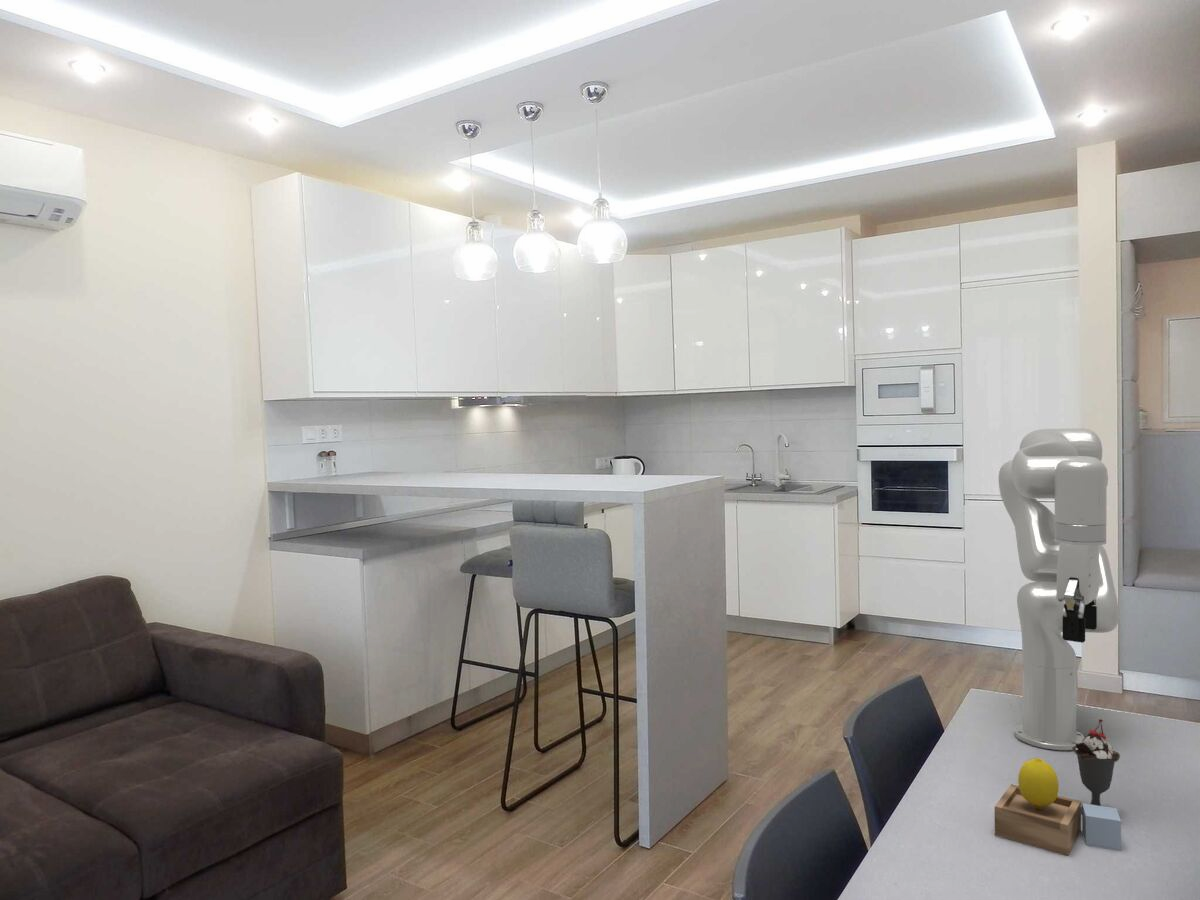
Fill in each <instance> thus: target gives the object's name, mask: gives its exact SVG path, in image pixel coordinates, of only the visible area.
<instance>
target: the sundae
mask: <svg viewBox="0 0 1200 900" xmlns="http://www.w3.org/2000/svg"><path fill="white" fill-rule="evenodd" d="M1099 727H1100V729H1101V730H1100V731H1101V732H1099V733H1098V731H1097V730H1098V729H1099ZM1103 731H1104V729H1103V719H1098V726H1096V728H1095V729H1091V730H1089V733H1088V734H1085V735H1084V737H1083V739H1082V741H1081V743H1076V744H1075V745H1076V746H1074V747H1073V748H1072V749H1073V750H1072V751H1073V752H1074V753H1075V754H1076V756H1077V762H1078V768H1079V775H1080V779H1081V783H1082V785H1083V786H1084V787H1085V788H1086V789H1087V790H1088V791H1090V793H1091V802H1090V804H1091V805H1097V806H1102V805H1101V794H1103V793H1105V792H1107V791H1108V790H1109V789H1111V785H1112V779H1113V773H1114V767H1115V763H1116V762H1118V761H1119V760H1120V757H1121V755H1120V753H1119V752H1117V751H1115V750H1114V749H1113V747H1112V745H1111V744H1110V743H1109V742H1108V741H1107V740H1106V739H1107V736H1106V734H1105V733H1104V732H1103ZM1081 815H1082V805H1081Z"/></svg>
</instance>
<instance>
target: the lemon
mask: <svg viewBox="0 0 1200 900" xmlns="http://www.w3.org/2000/svg"><path fill="white" fill-rule="evenodd" d="M1017 780H1018V781H1017V782H1018V783H1017V784H1018V786H1019V789H1020V792H1021V794H1022V796H1023V797H1024V798H1025V800H1026V801H1028V802H1029V803H1030V804H1032V805H1034V806H1035V807H1036V808H1037V809H1041V808H1042V807H1045V806H1049V805H1051V804H1052V803H1053V802H1054V801H1055V800H1056V798H1057V795H1058V794H1059V788H1060V787H1059V786H1060V785H1059V778H1058V775H1057V773H1056V771H1055V769H1054V768H1053V767H1052V766H1051V765H1050V764H1049V763H1048V762H1047V761H1046V760H1045V761H1044V760H1042V758H1040V757H1035V758H1032V759H1029V760H1027V761H1025V762H1024V763H1023V764H1022V765H1021V768H1020V770H1019V772H1018V778H1017ZM1058 796H1059V795H1058Z"/></svg>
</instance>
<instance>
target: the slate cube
mask: <svg viewBox="0 0 1200 900" xmlns="http://www.w3.org/2000/svg"><path fill="white" fill-rule="evenodd" d="M1081 806H1082V814H1081V830H1082V831H1081V832H1082V835H1083V839H1084V843H1085V845H1086V846H1090V847H1098V848H1103V849H1108V850H1115V851H1120V852H1121V851H1122V820H1121V817H1120V815H1119V812H1118V809H1117V808H1116V807H1111V806H1110V807H1109V806H1103V805H1101V806H1097V805H1091V803H1085V802H1084V803H1083V802H1081Z"/></svg>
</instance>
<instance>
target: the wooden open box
mask: <svg viewBox="0 0 1200 900" xmlns="http://www.w3.org/2000/svg"><path fill="white" fill-rule="evenodd" d="M1081 806H1082V801H1081V800H1078V799H1075V798H1070V797H1066V796H1063V795H1057V798H1056V800H1055V801H1054V802H1053V803H1052V804H1051V805H1049V806H1045V807H1042V808H1041V809H1037V808H1036V807H1035V806H1034V805H1032V804H1030V803H1029V802H1028V801H1026V800H1025V798H1024V797H1023V796H1022V794H1021V792H1020V789H1019V785H1017V784H1016V785H1015V784H1010V785H1009V787H1008V788H1007V789H1006V790H1005V791H1004V793H1003V794H1002V796H1001V797H1000V798H999V800H998V801H997V802H996V804H995V805H994V836H997V837H1001V838H1003V839H1008V840H1011V841H1014V842H1018V843H1022V844H1025V845H1028V846H1032V847H1036V848H1039V849H1042V850H1046V851H1051V852H1053V853H1054V852H1055V853H1057V854H1061V855H1064V856H1067V857H1068V856H1069V854H1070V853H1071V851H1072V848H1073V847H1074V845H1075V843H1076V840H1077V839H1078V837H1079V835H1080V833H1081V832H1082V831H1081V830H1082V814H1081Z"/></svg>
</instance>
